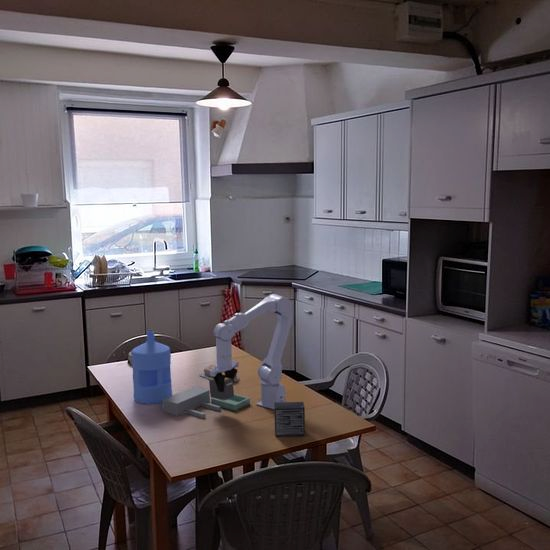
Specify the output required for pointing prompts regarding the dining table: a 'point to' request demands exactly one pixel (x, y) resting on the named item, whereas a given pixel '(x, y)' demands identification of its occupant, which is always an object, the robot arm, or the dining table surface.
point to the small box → (289, 419)
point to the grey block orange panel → (227, 391)
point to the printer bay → (189, 402)
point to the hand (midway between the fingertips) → (225, 389)
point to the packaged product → (207, 376)
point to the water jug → (151, 371)
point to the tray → (232, 402)
